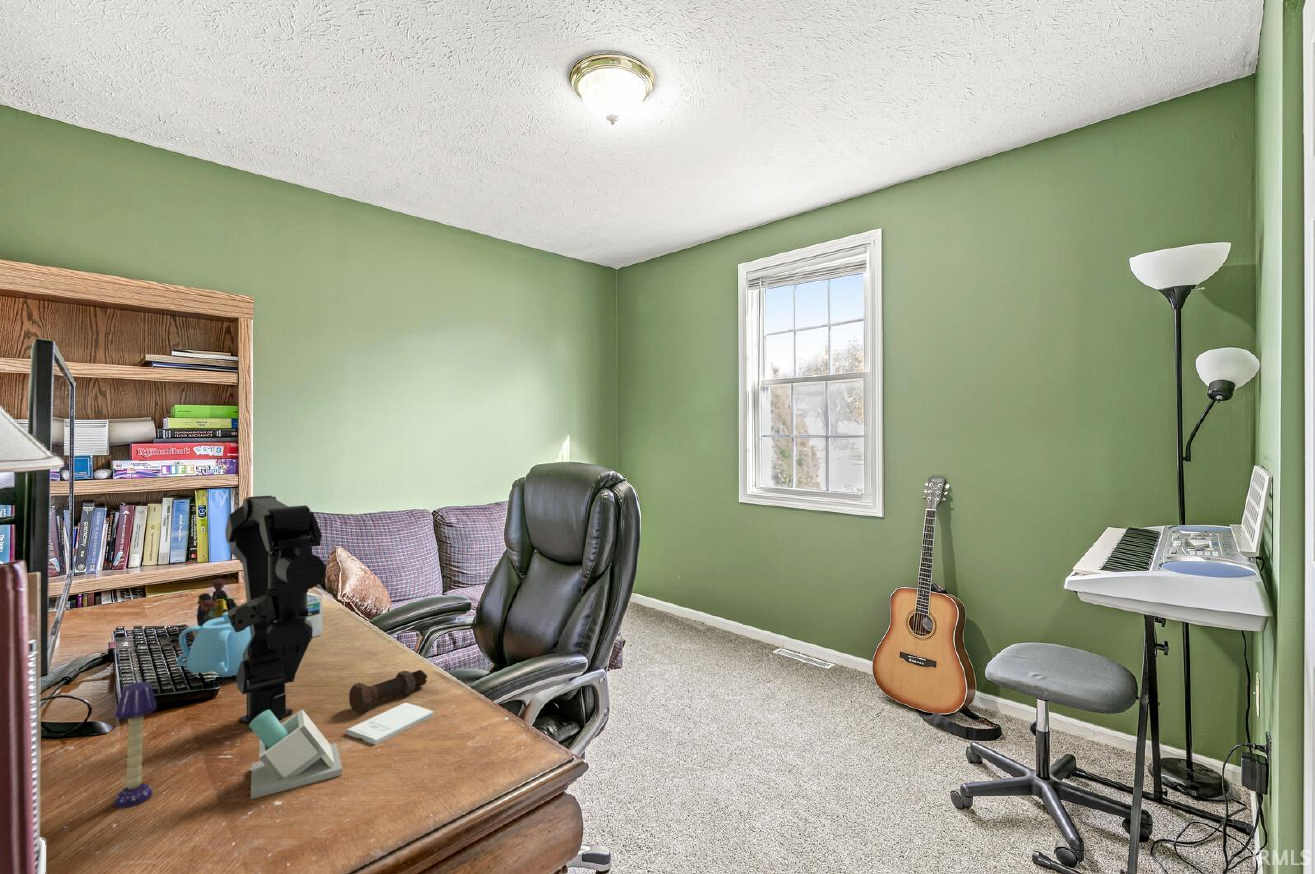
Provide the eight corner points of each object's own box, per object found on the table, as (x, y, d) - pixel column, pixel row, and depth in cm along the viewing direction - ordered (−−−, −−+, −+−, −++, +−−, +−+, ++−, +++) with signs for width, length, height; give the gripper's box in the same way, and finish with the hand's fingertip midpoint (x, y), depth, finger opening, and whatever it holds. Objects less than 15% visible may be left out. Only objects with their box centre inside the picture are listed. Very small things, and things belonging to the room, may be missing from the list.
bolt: (425, 695, 131) (357, 720, 119) (413, 678, 134) (345, 701, 121) (434, 674, 130) (366, 697, 117) (421, 658, 132) (354, 679, 120)
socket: (336, 748, 105) (336, 698, 105) (342, 774, 97) (341, 720, 97) (252, 769, 99) (251, 716, 99) (250, 799, 91) (250, 741, 91)
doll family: (183, 628, 171) (182, 580, 171) (221, 621, 178) (221, 574, 178) (205, 647, 156) (204, 594, 156) (246, 638, 163) (246, 587, 163)
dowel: (279, 769, 97) (244, 727, 95) (295, 752, 100) (262, 710, 97) (292, 767, 96) (257, 725, 93) (308, 750, 98) (274, 708, 96)
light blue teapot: (210, 692, 129) (210, 627, 129) (170, 678, 136) (170, 616, 136) (288, 666, 143) (288, 607, 143) (248, 654, 151) (248, 599, 151)
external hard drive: (433, 719, 117) (375, 748, 106) (404, 709, 121) (345, 736, 110) (433, 710, 117) (375, 738, 106) (404, 701, 121) (345, 727, 110)
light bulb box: (323, 635, 165) (323, 594, 165) (297, 642, 160) (297, 600, 160) (301, 628, 171) (301, 589, 171) (276, 635, 165) (275, 594, 165)
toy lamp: (132, 789, 93) (131, 679, 93) (165, 787, 94) (164, 678, 94) (106, 808, 88) (105, 692, 88) (141, 806, 89) (140, 691, 89)
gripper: (233, 575, 110) (234, 663, 110) (228, 598, 94) (228, 701, 94) (305, 567, 116) (306, 651, 116) (312, 588, 100) (312, 685, 100)
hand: (288, 670), depth 106 cm, fingers open, 9 cm apart
